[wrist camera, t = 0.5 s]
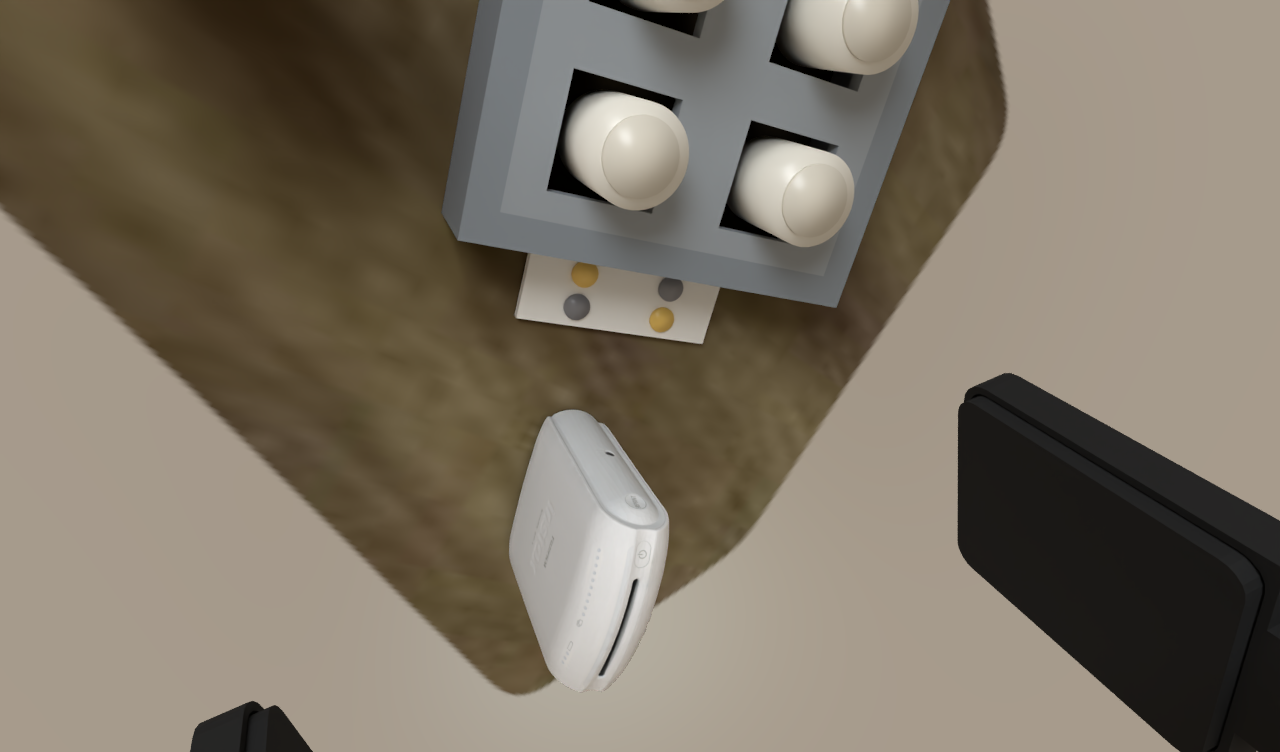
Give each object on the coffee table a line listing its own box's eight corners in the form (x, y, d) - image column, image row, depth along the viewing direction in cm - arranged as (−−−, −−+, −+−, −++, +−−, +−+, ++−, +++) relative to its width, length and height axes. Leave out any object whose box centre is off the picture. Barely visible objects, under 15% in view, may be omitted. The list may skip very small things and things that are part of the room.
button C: (569, 77, 32) (605, 88, 28) (657, 103, 34) (703, 116, 30) (547, 176, 34) (579, 200, 29) (633, 195, 35) (674, 220, 31)
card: (530, 240, 38) (534, 243, 37) (719, 275, 43) (724, 278, 42) (514, 314, 39) (517, 319, 39) (698, 340, 44) (703, 345, 43)
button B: (790, -48, 33) (856, -55, 29) (864, -17, 35) (936, -20, 31) (760, 52, 35) (819, 59, 31) (833, 77, 37) (898, 86, 32)
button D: (738, 126, 36) (792, 141, 32) (809, 146, 38) (870, 164, 34) (712, 213, 37) (761, 239, 33) (782, 229, 39) (837, 255, 35)
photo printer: (540, 401, 42) (613, 532, 32) (610, 410, 44) (701, 536, 33) (497, 556, 45) (550, 720, 35) (564, 558, 47) (633, 714, 37)
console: (521, -236, 30) (554, -275, 26) (903, -59, 38) (974, -67, 34) (441, 212, 36) (457, 240, 32) (787, 279, 44) (836, 307, 40)
